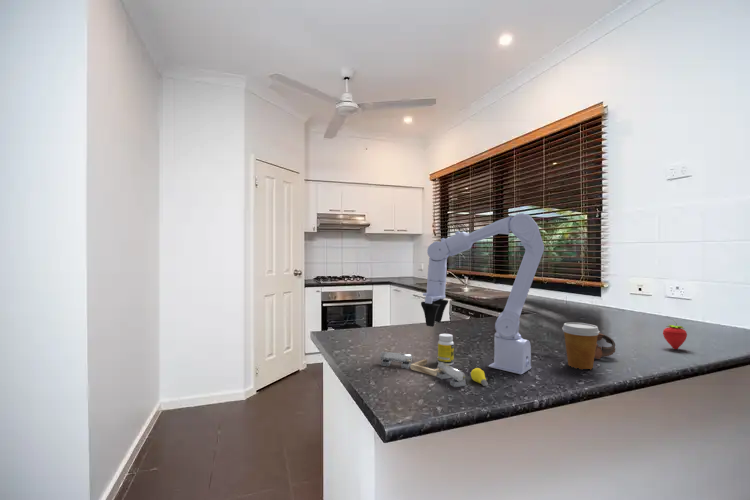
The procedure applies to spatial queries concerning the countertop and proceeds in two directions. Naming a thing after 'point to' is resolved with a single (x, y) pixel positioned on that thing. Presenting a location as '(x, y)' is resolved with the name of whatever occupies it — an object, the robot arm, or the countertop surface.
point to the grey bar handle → (396, 359)
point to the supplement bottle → (446, 349)
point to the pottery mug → (605, 350)
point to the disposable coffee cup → (580, 344)
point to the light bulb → (479, 376)
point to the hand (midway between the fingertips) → (433, 323)
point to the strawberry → (675, 335)
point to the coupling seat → (424, 368)
